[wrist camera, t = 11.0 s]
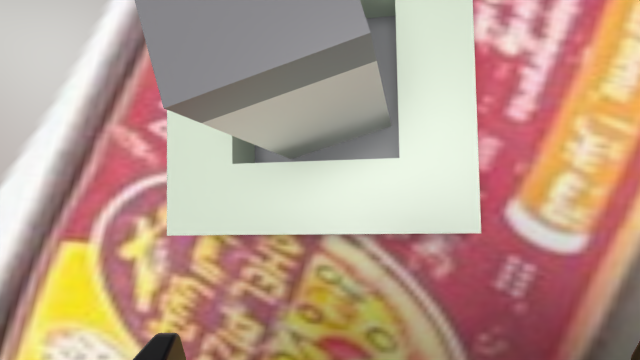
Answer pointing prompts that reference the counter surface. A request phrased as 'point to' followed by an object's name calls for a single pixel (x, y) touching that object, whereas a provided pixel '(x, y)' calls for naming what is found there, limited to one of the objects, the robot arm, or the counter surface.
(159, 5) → the white plug block
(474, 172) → the sage block
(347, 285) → the counter surface
